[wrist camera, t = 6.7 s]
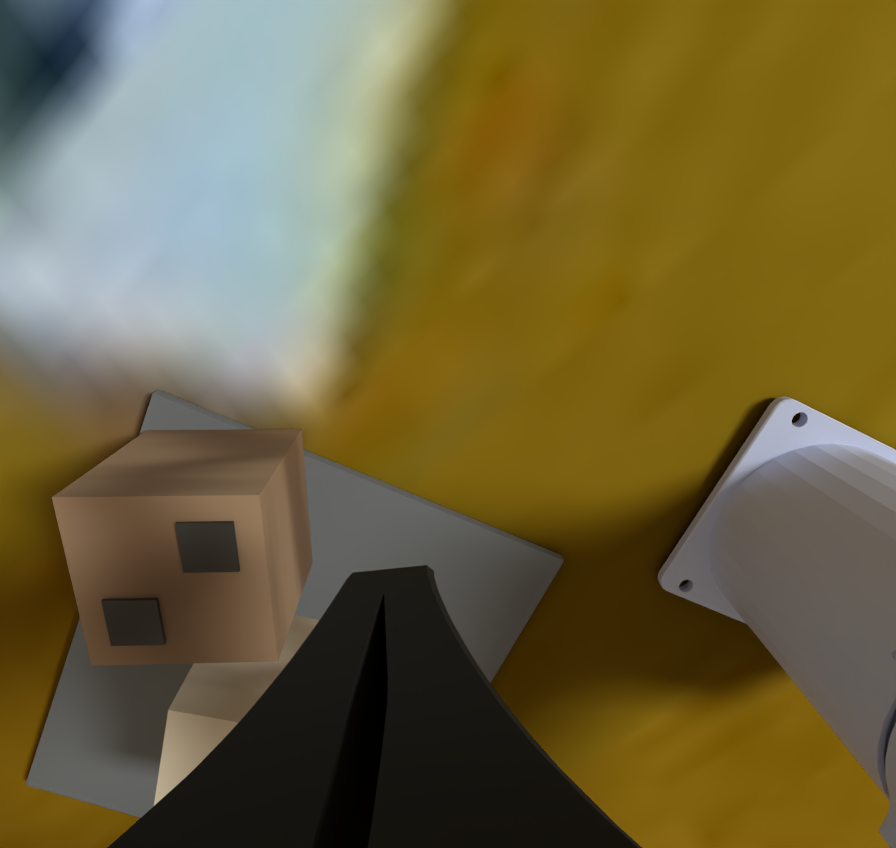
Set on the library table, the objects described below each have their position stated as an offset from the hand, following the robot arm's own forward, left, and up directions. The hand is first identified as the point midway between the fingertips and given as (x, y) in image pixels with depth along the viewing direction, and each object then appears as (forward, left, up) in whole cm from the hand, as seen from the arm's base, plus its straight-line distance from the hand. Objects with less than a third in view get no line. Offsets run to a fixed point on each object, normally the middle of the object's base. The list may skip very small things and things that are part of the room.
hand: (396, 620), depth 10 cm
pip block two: (+4, +5, -10) cm, 12 cm away
